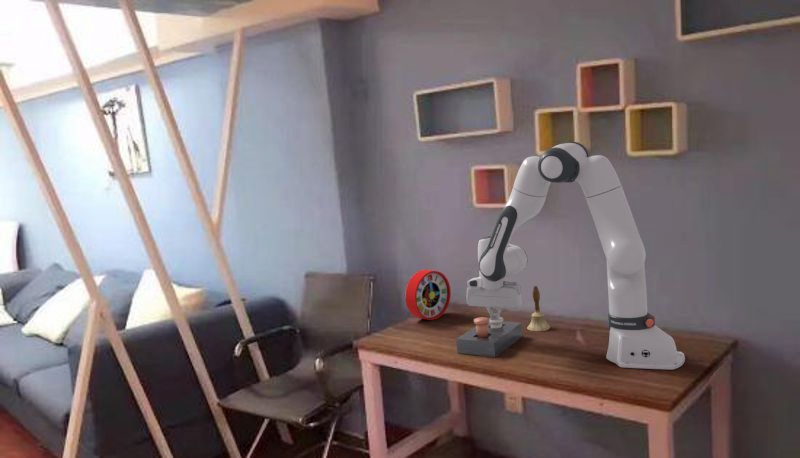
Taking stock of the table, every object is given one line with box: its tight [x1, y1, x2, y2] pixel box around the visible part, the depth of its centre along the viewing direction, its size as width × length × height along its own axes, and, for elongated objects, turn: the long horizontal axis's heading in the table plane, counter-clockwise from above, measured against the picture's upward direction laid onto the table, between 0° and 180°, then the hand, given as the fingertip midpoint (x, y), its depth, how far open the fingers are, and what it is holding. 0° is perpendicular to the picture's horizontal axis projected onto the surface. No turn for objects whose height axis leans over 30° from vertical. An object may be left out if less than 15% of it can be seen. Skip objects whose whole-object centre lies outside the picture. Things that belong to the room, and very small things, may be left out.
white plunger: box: [488, 316, 504, 329], centre depth 228 cm, size 5×5×6 cm
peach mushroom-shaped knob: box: [473, 316, 490, 338], centre depth 219 cm, size 5×5×6 cm
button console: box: [455, 320, 523, 358], centre depth 224 cm, size 14×23×5 cm, turn 147°
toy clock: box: [404, 269, 452, 321], centre depth 263 cm, size 20×6×20 cm, turn 131°
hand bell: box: [527, 285, 551, 333], centre depth 236 cm, size 8×8×16 cm
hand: (495, 319), depth 228 cm, fingers closed, pressing on white plunger
